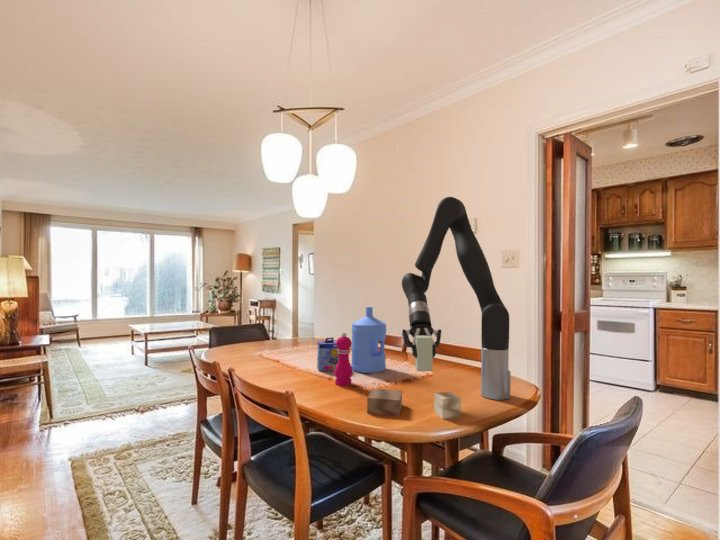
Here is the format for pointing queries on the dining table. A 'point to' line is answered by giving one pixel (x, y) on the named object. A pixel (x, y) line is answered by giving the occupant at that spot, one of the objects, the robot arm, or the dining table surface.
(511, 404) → the dining table surface
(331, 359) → the ink cartridge box
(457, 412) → the maple cube
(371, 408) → the walnut block
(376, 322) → the water jug
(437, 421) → the dining table surface
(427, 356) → the sage block
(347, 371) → the pepper mill
